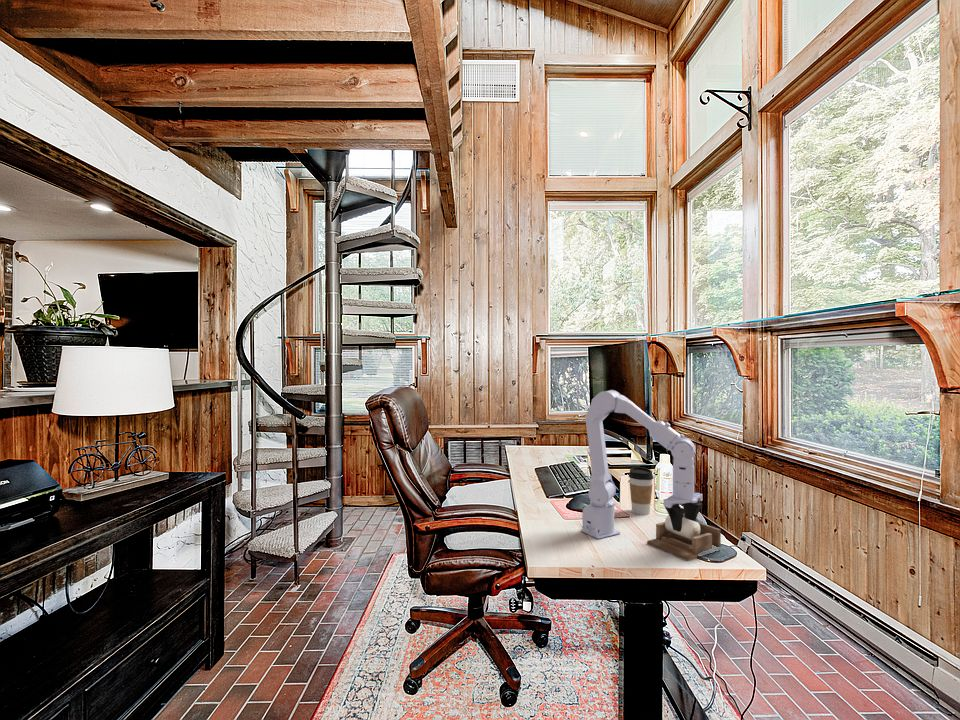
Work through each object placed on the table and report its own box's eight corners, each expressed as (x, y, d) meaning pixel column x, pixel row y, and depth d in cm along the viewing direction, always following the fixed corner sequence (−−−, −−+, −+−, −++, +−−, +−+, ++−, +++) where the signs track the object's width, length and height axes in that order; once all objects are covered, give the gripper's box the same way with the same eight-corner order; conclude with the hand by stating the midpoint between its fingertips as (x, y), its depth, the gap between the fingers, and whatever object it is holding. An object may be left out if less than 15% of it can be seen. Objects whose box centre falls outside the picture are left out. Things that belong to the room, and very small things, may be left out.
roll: (687, 538, 131) (691, 520, 132) (662, 529, 138) (666, 512, 139) (698, 541, 133) (702, 523, 134) (673, 532, 140) (677, 515, 141)
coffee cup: (649, 508, 171) (650, 467, 171) (656, 516, 162) (656, 472, 162) (626, 507, 172) (626, 466, 172) (631, 515, 163) (631, 472, 163)
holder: (687, 560, 126) (688, 538, 126) (647, 543, 138) (647, 522, 138) (720, 550, 133) (720, 529, 133) (679, 535, 145) (679, 515, 145)
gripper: (678, 487, 129) (678, 537, 129) (712, 481, 136) (712, 528, 136) (657, 482, 135) (657, 529, 135) (690, 476, 142) (690, 521, 142)
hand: (683, 528), depth 136 cm, fingers closed on roll, 5 cm apart
